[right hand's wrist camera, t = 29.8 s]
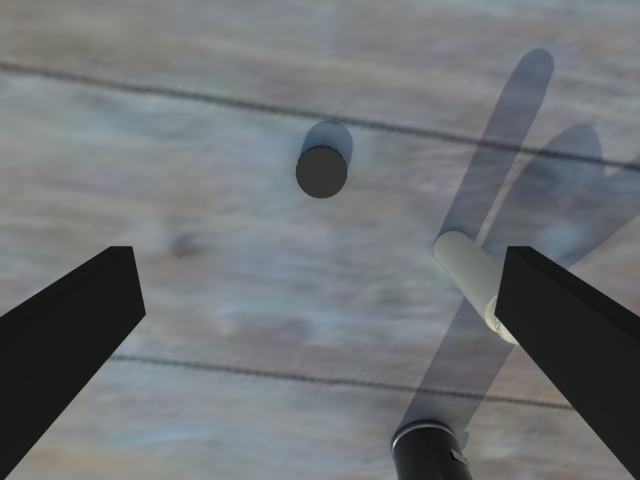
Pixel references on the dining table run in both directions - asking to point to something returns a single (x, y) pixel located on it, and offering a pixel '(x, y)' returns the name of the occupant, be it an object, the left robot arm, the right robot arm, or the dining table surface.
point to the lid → (321, 172)
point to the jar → (473, 275)
